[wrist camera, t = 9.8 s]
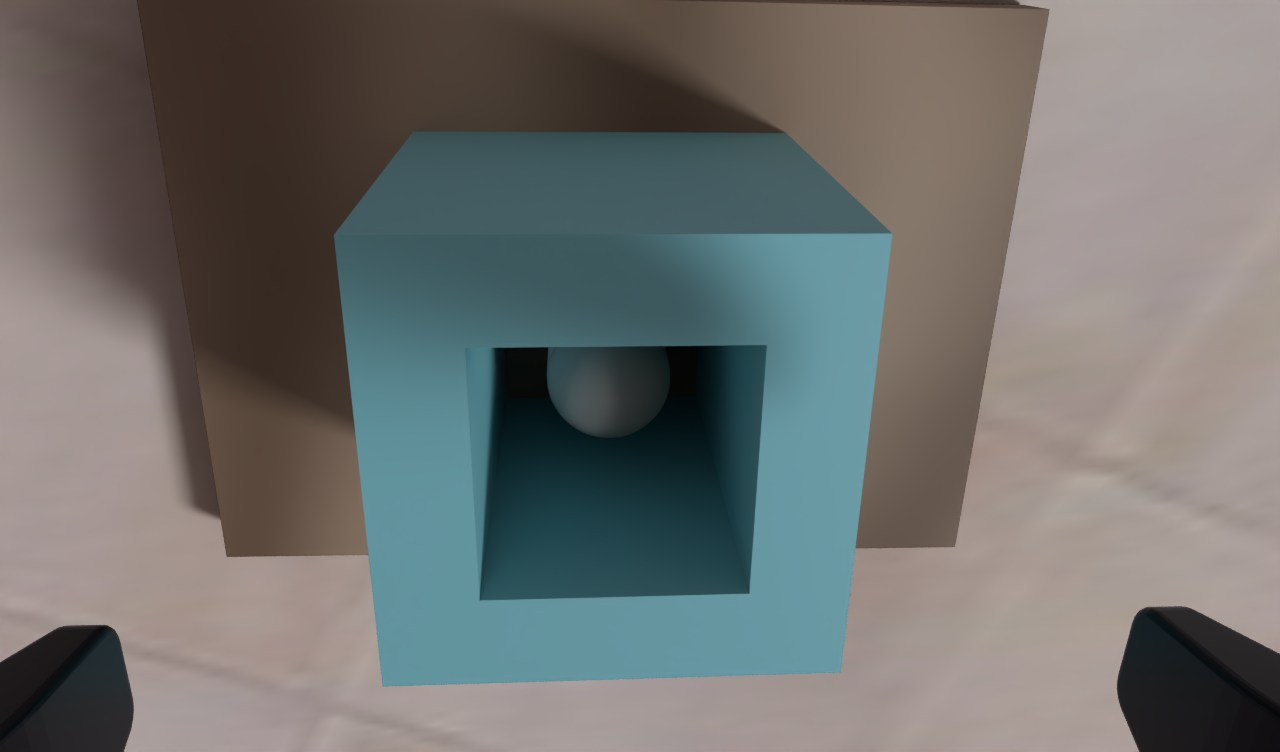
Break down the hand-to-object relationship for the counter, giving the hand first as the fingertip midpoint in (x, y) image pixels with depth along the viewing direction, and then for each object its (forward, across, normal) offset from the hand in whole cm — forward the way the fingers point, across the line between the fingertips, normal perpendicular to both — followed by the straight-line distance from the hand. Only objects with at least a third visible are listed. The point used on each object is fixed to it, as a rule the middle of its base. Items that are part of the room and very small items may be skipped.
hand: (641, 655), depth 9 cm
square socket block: (+9, 0, 0) cm, 9 cm away
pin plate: (+10, 0, 0) cm, 10 cm away
